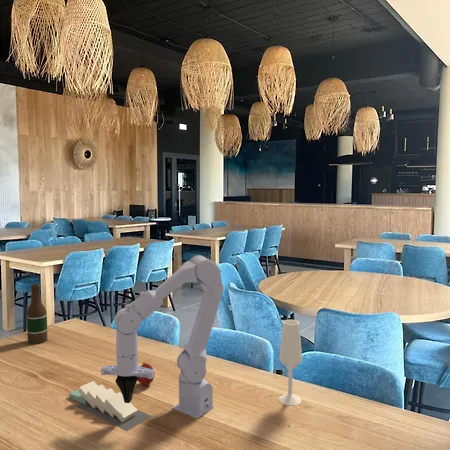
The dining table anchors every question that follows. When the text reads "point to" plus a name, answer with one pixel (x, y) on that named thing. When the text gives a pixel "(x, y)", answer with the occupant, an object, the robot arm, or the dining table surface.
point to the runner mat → (115, 420)
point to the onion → (145, 380)
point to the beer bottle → (36, 318)
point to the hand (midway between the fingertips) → (128, 401)
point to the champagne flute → (290, 356)
